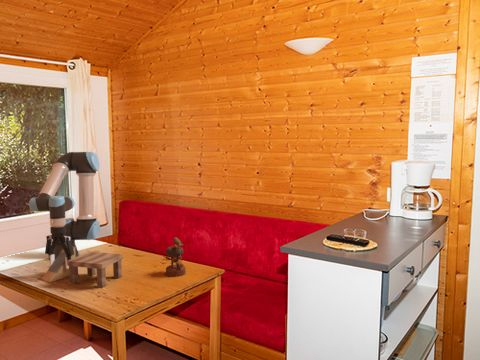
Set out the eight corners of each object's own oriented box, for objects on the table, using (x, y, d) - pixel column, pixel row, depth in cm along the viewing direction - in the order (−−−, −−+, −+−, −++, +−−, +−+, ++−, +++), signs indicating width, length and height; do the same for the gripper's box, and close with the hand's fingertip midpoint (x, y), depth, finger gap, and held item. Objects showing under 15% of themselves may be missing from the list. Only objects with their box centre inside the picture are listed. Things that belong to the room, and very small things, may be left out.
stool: (68, 284, 208) (67, 261, 207) (90, 273, 226) (89, 251, 224) (102, 288, 203) (101, 264, 202) (123, 276, 220) (122, 254, 219)
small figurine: (192, 273, 225) (189, 237, 221) (178, 280, 216) (174, 243, 213) (172, 268, 234) (169, 233, 230) (157, 274, 225) (154, 239, 222)
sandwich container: (40, 279, 216) (38, 251, 214) (67, 271, 229) (65, 244, 227) (49, 282, 211) (48, 253, 210) (76, 274, 224) (75, 246, 222)
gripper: (35, 226, 217) (38, 268, 220) (70, 228, 211) (73, 271, 213) (46, 223, 225) (48, 263, 227) (80, 225, 218) (82, 267, 221)
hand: (60, 267), depth 220 cm, fingers closed on sandwich container, 9 cm apart
